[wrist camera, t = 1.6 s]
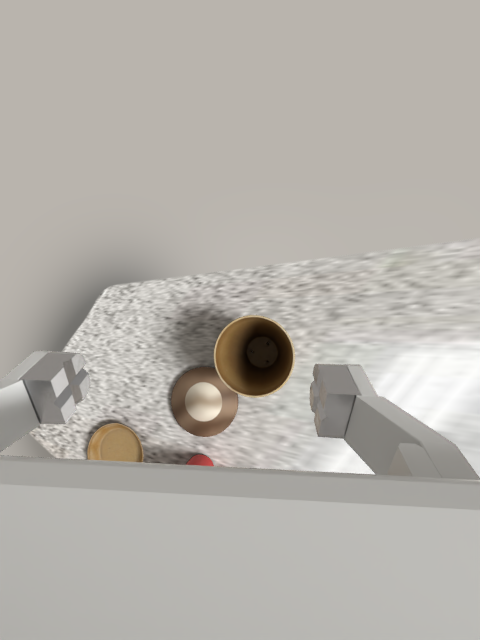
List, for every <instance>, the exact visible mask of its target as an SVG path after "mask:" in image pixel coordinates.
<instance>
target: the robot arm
mask: <svg viewBox="0 0 480 640" xmlns="http://www.w3.org/2000/svg"><path fill="white" fill-rule="evenodd" d="M85 364H86V363H85V359H84V356H83V355H82V354H80V353H69V352H53V351H52V352H51V351H35V352H33V353H32V354H31V355H29V356H28V357H27V358H26V359H25V360H24V361H22V362H21V363H20V364H19V365H18V366H16V367H15V368H14V369H13V370H12V371H10V372H9V373H8V374H7V375H6V376H5V377H3V378H2V379H0V452H1V451H3V450H4V449H6V448H7V447H9V446H10V445H12V444H13V443H14V442H16V441H17V440H19V439H20V438H22V437H23V436H25V435H26V434H28V433H29V432H31V431H32V430H33V429H35V428H36V427H38V426H39V425H40V424H66V423H67V422H68V420H69V419H70V418H71V416H72V415H73V414H74V412H75V411H76V404H77V403H79V402H80V401H82V400H84V398H85V397H86V395H87V394H88V391H89V387H90V378H89V374H88V373H87V372H86V371H85V370H84V369H83V367H84V365H85ZM313 376H314V381H313V382H312V383H311V387H310V405H311V410H312V411H313V412H314V413H315V418H314V422H315V426H316V430H317V434H318V437H330V438H343V439H344V440H345V441H346V442H347V443H348V445H349V446H350V447H351V448H352V449H353V450H354V451H355V452H356V453H357V454H358V455H359V456H360V458H361V459H362V460H363V461H364V462H365V463H366V464H367V465H368V466H369V467H370V468H371V470H372V471H373V472H374V473H375V474H376V475H373V474H354V473H334V472H315V471H296V470H276V469H257V468H238V467H218V466H199V465H180V464H161V463H142V462H123V461H103V460H83V459H63V458H42V457H23V456H4V455H3V456H2V455H0V640H480V478H479V476H478V475H477V474H476V472H475V471H474V469H473V468H472V467H471V465H470V464H469V463H468V461H467V460H466V458H465V457H464V456H463V454H462V453H461V451H460V450H459V449H458V447H457V446H456V445H455V444H454V443H452V442H451V441H449V440H448V439H446V438H445V437H443V436H442V435H440V434H439V433H437V432H436V431H434V430H433V429H431V428H430V427H428V426H427V425H425V424H423V423H422V422H420V421H419V420H417V419H416V418H414V417H413V416H411V415H410V414H408V413H407V412H405V411H404V410H402V409H401V408H399V407H398V406H396V405H395V404H393V403H392V402H390V401H389V400H387V399H386V398H384V397H379V396H378V395H377V393H376V391H375V390H374V388H373V386H372V384H371V382H370V380H369V379H368V377H367V375H366V373H365V371H364V370H363V368H362V366H361V365H350V364H345V365H335V364H315V366H314V370H313Z"/></svg>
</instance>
